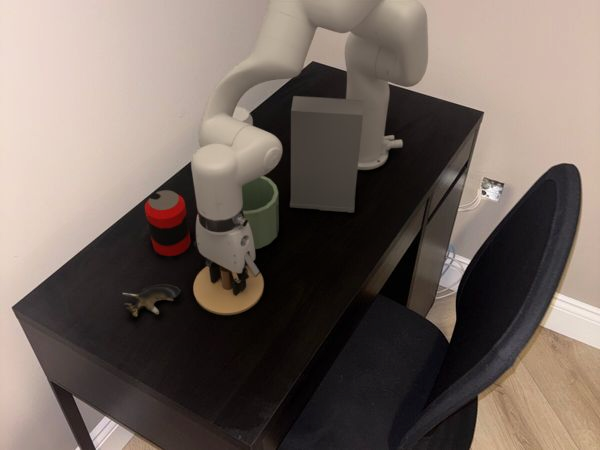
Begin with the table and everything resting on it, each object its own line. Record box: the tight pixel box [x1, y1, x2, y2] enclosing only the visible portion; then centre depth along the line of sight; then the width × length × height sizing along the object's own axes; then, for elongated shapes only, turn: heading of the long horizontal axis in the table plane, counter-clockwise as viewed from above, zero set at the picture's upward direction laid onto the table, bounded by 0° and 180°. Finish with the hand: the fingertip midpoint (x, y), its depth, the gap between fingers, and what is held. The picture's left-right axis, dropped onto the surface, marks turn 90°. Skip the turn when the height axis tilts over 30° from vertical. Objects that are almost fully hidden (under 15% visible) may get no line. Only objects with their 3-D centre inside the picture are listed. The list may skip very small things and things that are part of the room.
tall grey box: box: [289, 95, 363, 213], centre depth 124 cm, size 14×6×25 cm, turn 85°
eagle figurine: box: [122, 284, 182, 318], centre depth 109 cm, size 8×7×9 cm
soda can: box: [144, 189, 192, 257], centre depth 119 cm, size 8×8×12 cm
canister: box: [242, 175, 280, 250], centre depth 122 cm, size 12×12×10 cm
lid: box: [192, 265, 265, 316], centre depth 112 cm, size 13×13×6 cm
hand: (228, 283), depth 113 cm, fingers open, 4 cm apart
